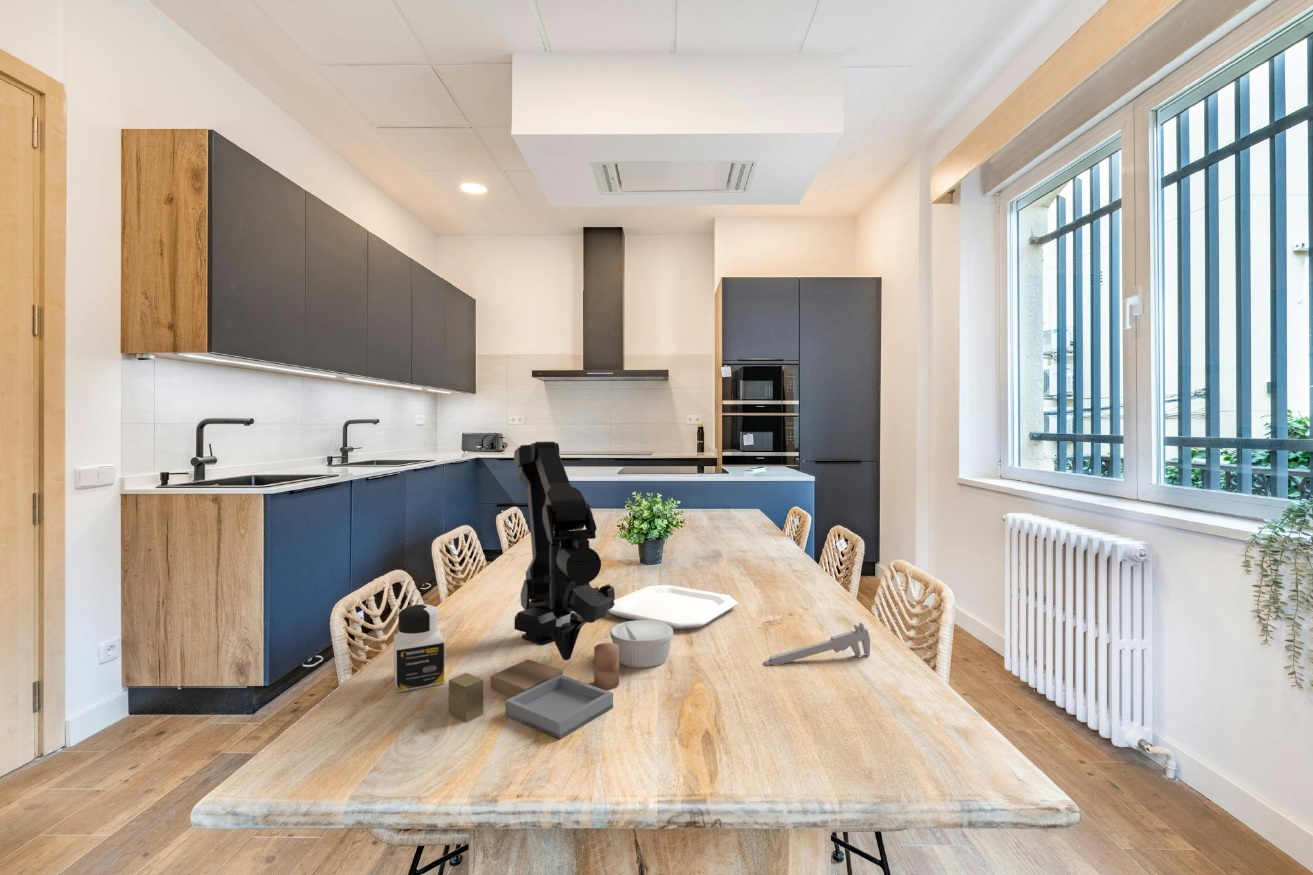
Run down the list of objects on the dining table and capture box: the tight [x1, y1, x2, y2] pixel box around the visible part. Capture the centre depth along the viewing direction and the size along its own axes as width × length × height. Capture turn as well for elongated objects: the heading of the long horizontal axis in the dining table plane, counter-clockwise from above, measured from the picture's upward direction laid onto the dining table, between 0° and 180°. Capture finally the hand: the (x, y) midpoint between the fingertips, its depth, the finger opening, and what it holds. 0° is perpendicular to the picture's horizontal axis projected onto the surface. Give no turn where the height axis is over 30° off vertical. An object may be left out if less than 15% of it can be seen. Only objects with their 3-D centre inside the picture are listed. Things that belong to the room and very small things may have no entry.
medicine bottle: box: [393, 603, 445, 693], centre depth 96 cm, size 7×7×12 cm
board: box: [489, 659, 563, 698], centre depth 94 cm, size 8×8×2 cm
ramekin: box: [610, 620, 674, 669], centre depth 106 cm, size 11×11×5 cm
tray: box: [504, 674, 614, 740], centre depth 85 cm, size 11×11×2 cm
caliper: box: [762, 622, 871, 667], centre depth 105 cm, size 20×1×6 cm, turn 102°
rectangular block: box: [448, 672, 484, 723], centre depth 85 cm, size 3×4×5 cm
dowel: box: [593, 642, 620, 691], centre depth 95 cm, size 4×4×6 cm
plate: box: [607, 584, 739, 630], centre depth 133 cm, size 25×25×2 cm
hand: (566, 659), depth 101 cm, fingers closed
